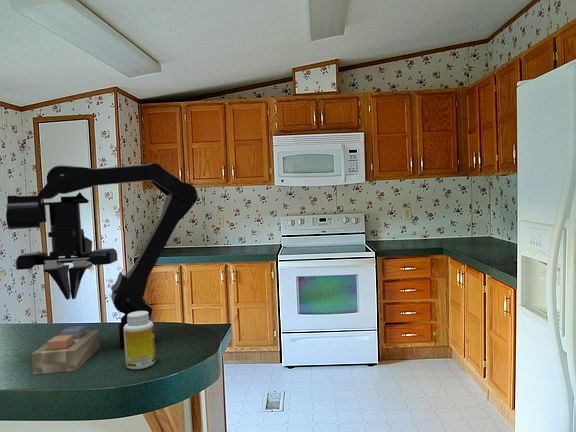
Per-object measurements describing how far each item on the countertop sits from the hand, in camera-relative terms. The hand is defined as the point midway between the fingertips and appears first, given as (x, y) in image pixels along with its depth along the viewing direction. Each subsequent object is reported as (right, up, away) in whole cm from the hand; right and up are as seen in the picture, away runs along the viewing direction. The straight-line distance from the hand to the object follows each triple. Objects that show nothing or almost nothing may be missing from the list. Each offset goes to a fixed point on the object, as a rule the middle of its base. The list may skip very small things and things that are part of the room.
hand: (71, 299), depth 92 cm
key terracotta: (+1, -9, -6) cm, 11 cm away
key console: (+1, -12, -3) cm, 12 cm away
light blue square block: (0, -9, 0) cm, 9 cm away
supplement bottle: (+17, -12, -7) cm, 22 cm away
